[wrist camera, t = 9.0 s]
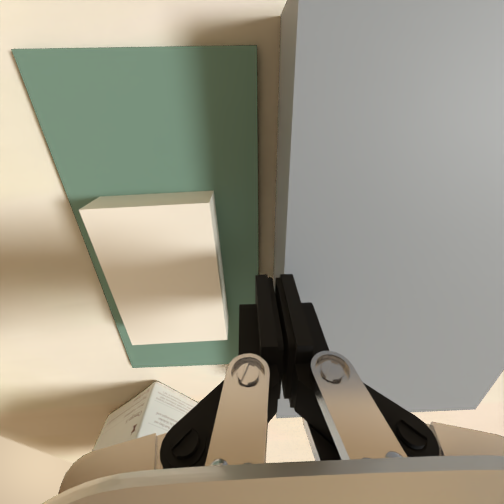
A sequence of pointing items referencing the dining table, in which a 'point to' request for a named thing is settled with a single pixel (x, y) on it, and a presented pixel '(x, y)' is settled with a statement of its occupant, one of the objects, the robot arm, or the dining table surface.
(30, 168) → the dining table surface
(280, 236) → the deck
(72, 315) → the dining table surface
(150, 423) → the supplement box
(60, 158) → the mat
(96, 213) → the card
